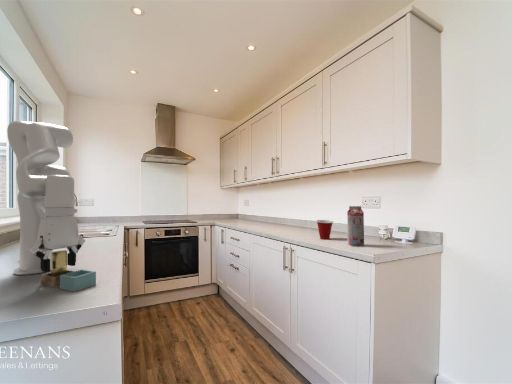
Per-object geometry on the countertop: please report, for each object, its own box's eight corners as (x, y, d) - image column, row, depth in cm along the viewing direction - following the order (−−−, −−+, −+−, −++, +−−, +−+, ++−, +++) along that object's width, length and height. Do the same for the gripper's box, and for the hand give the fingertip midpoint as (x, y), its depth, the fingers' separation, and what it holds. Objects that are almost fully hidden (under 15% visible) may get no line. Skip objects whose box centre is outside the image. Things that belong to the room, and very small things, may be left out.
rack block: (59, 288, 76) (59, 275, 76) (82, 281, 82) (82, 269, 83) (74, 291, 74) (74, 277, 74) (95, 284, 80) (95, 271, 80)
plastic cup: (324, 240, 158) (324, 221, 159) (313, 238, 168) (312, 220, 168) (337, 239, 164) (337, 220, 164) (325, 237, 173) (324, 219, 173)
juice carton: (364, 246, 139) (363, 206, 140) (352, 246, 140) (351, 206, 140) (359, 244, 146) (358, 206, 147) (347, 244, 146) (347, 206, 147)
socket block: (40, 284, 80) (40, 275, 80) (63, 278, 86) (63, 269, 86) (53, 287, 77) (53, 277, 78) (76, 280, 84) (76, 271, 84)
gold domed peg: (48, 284, 81) (48, 252, 81) (61, 280, 84) (62, 250, 85) (55, 285, 79) (56, 253, 79) (69, 281, 83) (69, 250, 83)
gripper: (79, 211, 92) (78, 261, 91) (20, 214, 76) (19, 274, 75) (93, 211, 89) (93, 263, 88) (34, 215, 73) (34, 277, 72)
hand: (59, 267), depth 82 cm, fingers open, 6 cm apart
